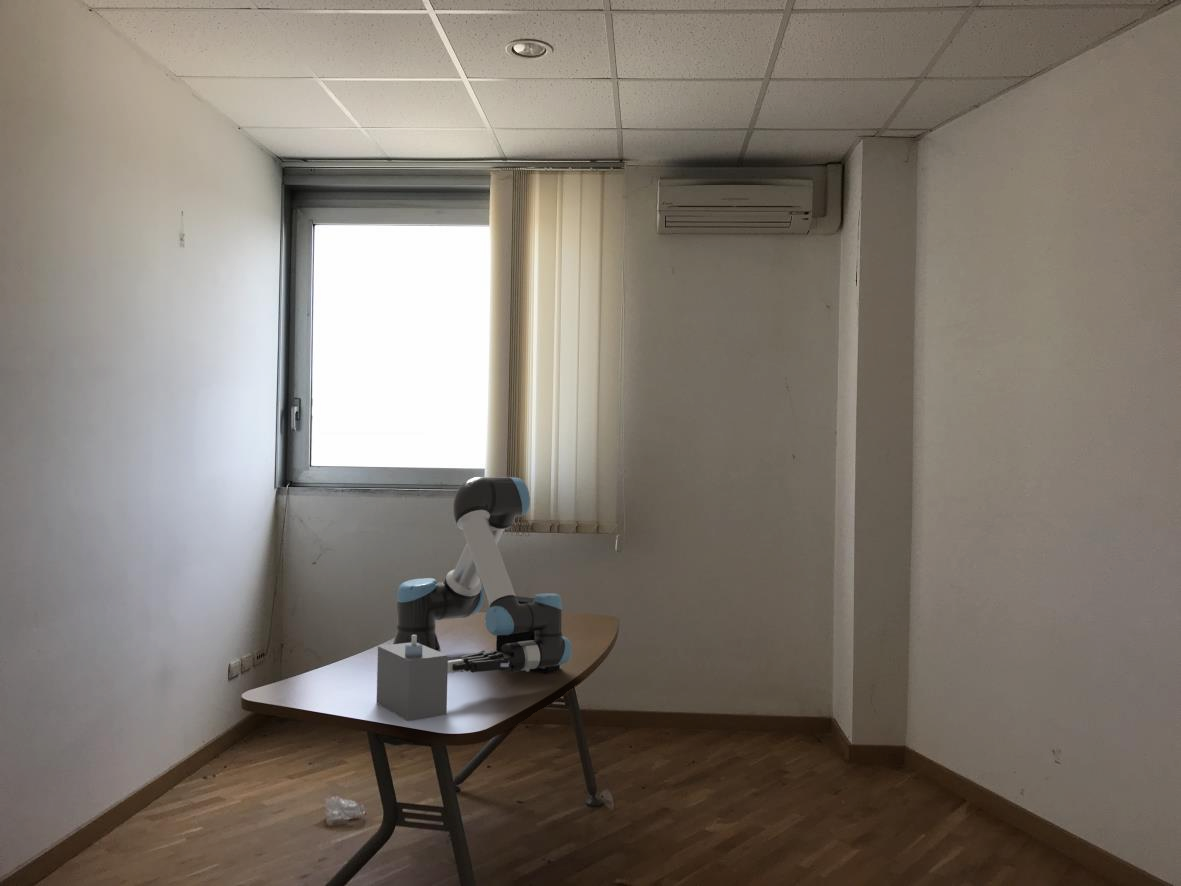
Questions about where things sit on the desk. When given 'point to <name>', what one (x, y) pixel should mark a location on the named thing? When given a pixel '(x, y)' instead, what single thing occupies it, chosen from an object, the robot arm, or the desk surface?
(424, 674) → the housing
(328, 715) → the desk surface
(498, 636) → the electrical component
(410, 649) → the knob
